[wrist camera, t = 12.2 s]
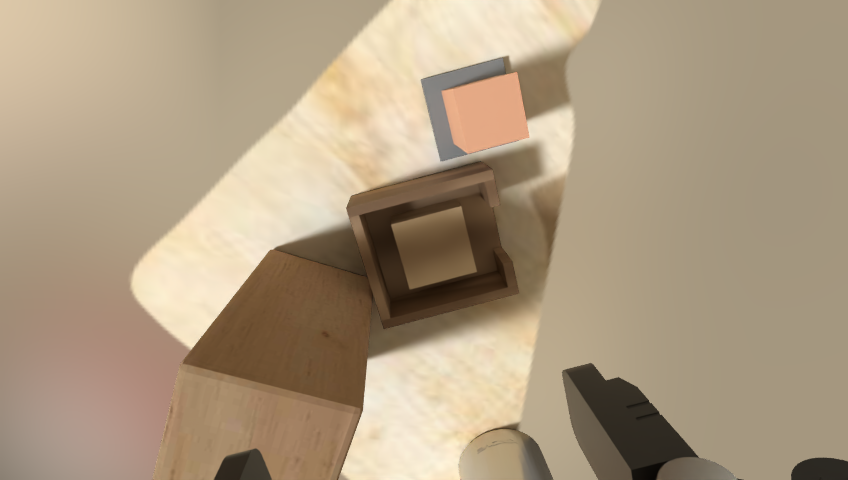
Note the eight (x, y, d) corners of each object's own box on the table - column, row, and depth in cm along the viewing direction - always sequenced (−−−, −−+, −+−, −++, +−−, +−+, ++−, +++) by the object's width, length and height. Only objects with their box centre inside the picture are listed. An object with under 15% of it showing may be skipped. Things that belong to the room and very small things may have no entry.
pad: (517, 140, 43) (518, 140, 42) (440, 160, 43) (441, 161, 42) (501, 58, 41) (502, 57, 40) (420, 79, 41) (421, 79, 40)
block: (493, 76, 40) (517, 71, 33) (503, 130, 42) (529, 137, 34) (441, 90, 40) (453, 89, 33) (453, 143, 42) (467, 153, 34)
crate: (505, 273, 46) (519, 293, 41) (384, 305, 46) (383, 329, 41) (481, 161, 43) (492, 169, 38) (351, 195, 43) (346, 208, 38)
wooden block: (375, 277, 45) (364, 408, 26) (345, 367, 48) (315, 547, 29) (270, 246, 44) (177, 361, 25) (244, 341, 46) (141, 512, 27)
